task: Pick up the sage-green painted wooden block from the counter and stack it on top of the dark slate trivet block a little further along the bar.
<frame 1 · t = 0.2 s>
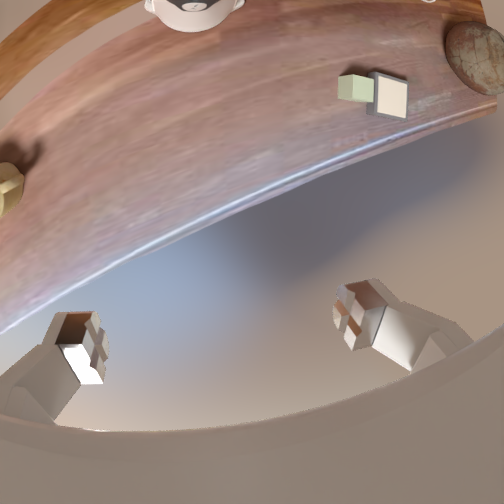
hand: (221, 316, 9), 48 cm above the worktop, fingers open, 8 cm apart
jug: (454, 57, 48), on the worktop
green block: (348, 89, 50), on the worktop
sugar bowl: (10, 179, 42), on the worktop
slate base: (384, 97, 52), on the worktop
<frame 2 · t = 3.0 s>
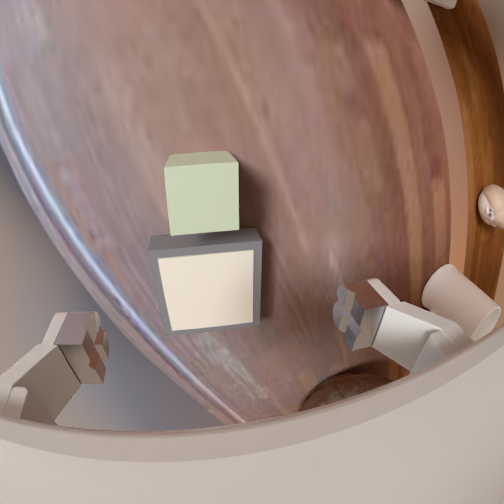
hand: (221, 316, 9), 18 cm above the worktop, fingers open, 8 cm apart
mug: (431, 290, 39), on the worktop
jug: (331, 388, 46), on the worktop
green block: (200, 179, 24), on the worktop
garlic bulb: (481, 198, 33), on the worktop
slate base: (206, 276, 29), on the worktop
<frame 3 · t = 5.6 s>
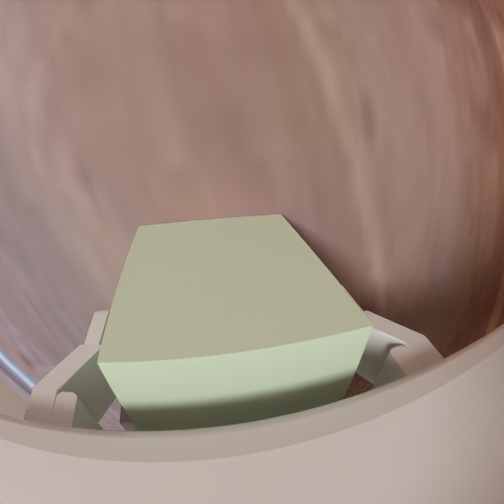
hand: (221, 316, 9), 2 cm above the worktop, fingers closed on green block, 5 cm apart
green block: (214, 280, 11), on the worktop, touching gripper
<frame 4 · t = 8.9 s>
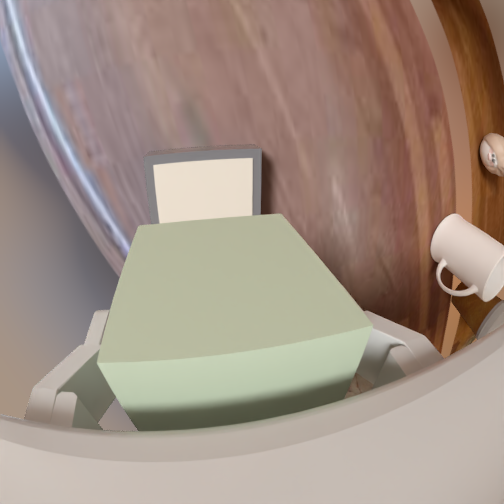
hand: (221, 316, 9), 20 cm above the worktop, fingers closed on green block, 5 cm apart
disposable coffee cup: (460, 290, 45), on the worktop
mug: (440, 242, 37), on the worktop
jug: (338, 352, 44), on the worktop
green block: (214, 280, 11), point 18 cm above the worktop, touching gripper
garlic bulb: (482, 149, 31), on the worktop
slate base: (203, 197, 27), on the worktop
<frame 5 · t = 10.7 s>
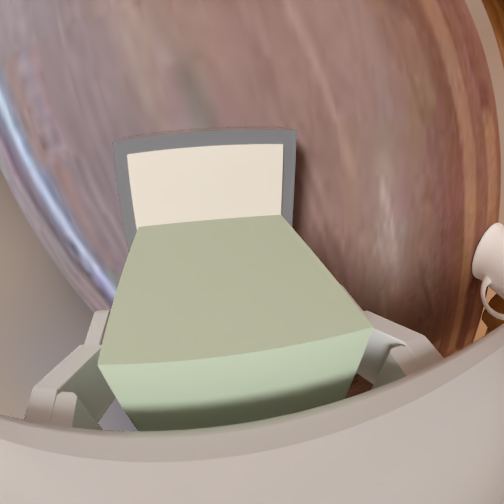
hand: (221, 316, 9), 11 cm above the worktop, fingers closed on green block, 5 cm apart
disposable coffee cup: (491, 305, 37), on the worktop
mug: (481, 255, 29), on the worktop
jug: (364, 384, 35), on the worktop
green block: (214, 281, 11), point 9 cm above the worktop, touching gripper
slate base: (205, 203, 19), on the worktop
when the fingers open (7 cm above the worktop, at t = 12.4 s): green block drops 1 cm, resting on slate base.
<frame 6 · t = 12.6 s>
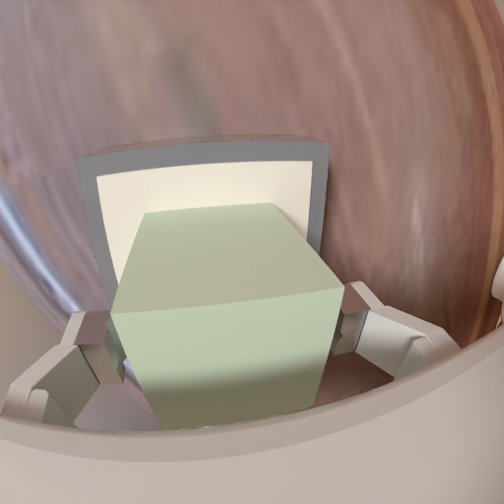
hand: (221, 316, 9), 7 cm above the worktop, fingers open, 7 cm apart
mug: (500, 273, 25), on the worktop
green block: (212, 263, 12), point 3 cm above the worktop, touching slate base
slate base: (205, 234, 15), on the worktop
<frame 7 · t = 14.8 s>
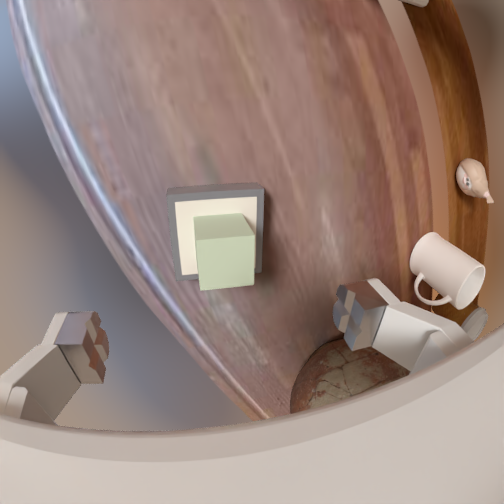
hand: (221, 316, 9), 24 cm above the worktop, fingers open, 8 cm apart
disposable coffee cup: (440, 299, 52), on the worktop
mug: (418, 257, 44), on the worktop
jug: (328, 356, 49), on the worktop
green block: (218, 236, 30), point 3 cm above the worktop, touching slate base
garlic bulb: (459, 172, 38), on the worktop
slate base: (214, 226, 33), on the worktop
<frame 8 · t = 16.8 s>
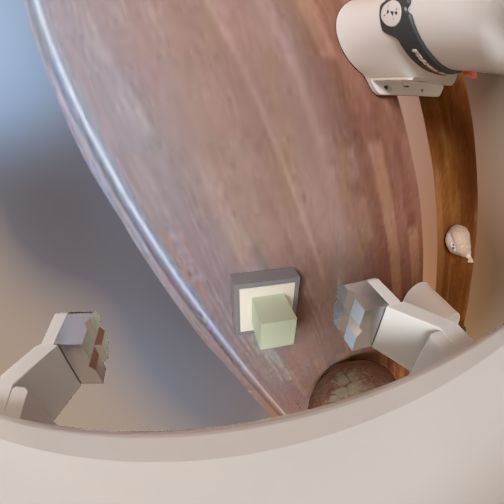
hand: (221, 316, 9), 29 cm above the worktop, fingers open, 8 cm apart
mug: (410, 300, 57), on the worktop
jug: (336, 372, 63), on the worktop
green block: (267, 308, 43), point 3 cm above the worktop, touching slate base
garlic bulb: (449, 234, 50), on the worktop
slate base: (262, 296, 46), on the worktop
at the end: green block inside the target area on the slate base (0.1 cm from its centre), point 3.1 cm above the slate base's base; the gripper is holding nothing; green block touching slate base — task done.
